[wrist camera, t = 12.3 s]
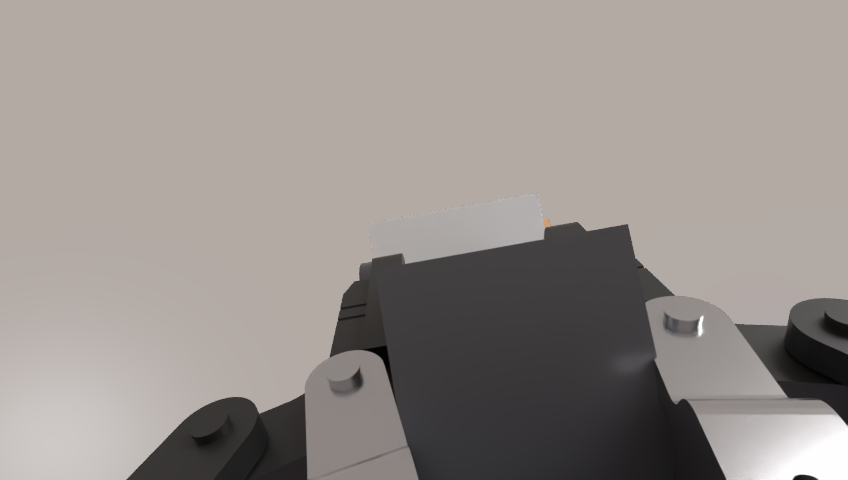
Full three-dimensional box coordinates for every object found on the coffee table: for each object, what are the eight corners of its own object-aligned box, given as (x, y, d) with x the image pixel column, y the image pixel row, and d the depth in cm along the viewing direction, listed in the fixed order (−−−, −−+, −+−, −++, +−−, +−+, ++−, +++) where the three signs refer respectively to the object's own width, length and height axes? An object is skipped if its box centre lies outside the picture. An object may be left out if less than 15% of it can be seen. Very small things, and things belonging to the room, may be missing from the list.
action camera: (540, 320, 26) (519, 217, 26) (873, 461, 6) (757, 18, 6) (387, 347, 26) (371, 244, 26) (198, 568, 6) (146, 134, 7)
